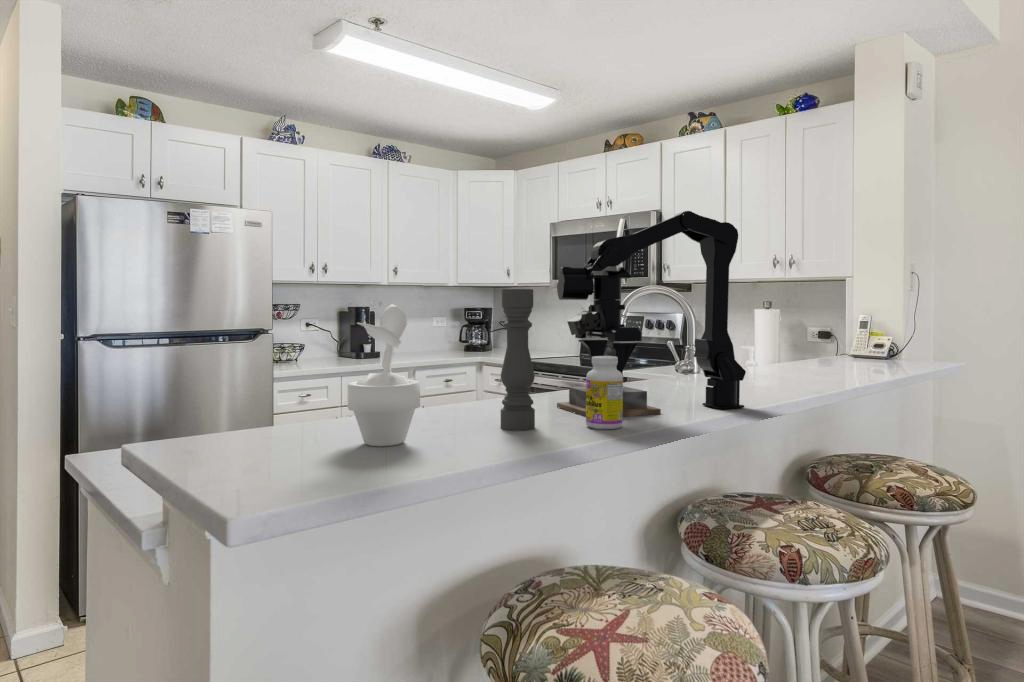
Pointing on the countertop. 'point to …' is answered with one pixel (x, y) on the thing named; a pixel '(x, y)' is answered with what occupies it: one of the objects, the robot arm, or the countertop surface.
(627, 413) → the socket
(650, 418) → the countertop surface
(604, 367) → the supplement bottle
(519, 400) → the candle holder
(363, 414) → the potted plant
